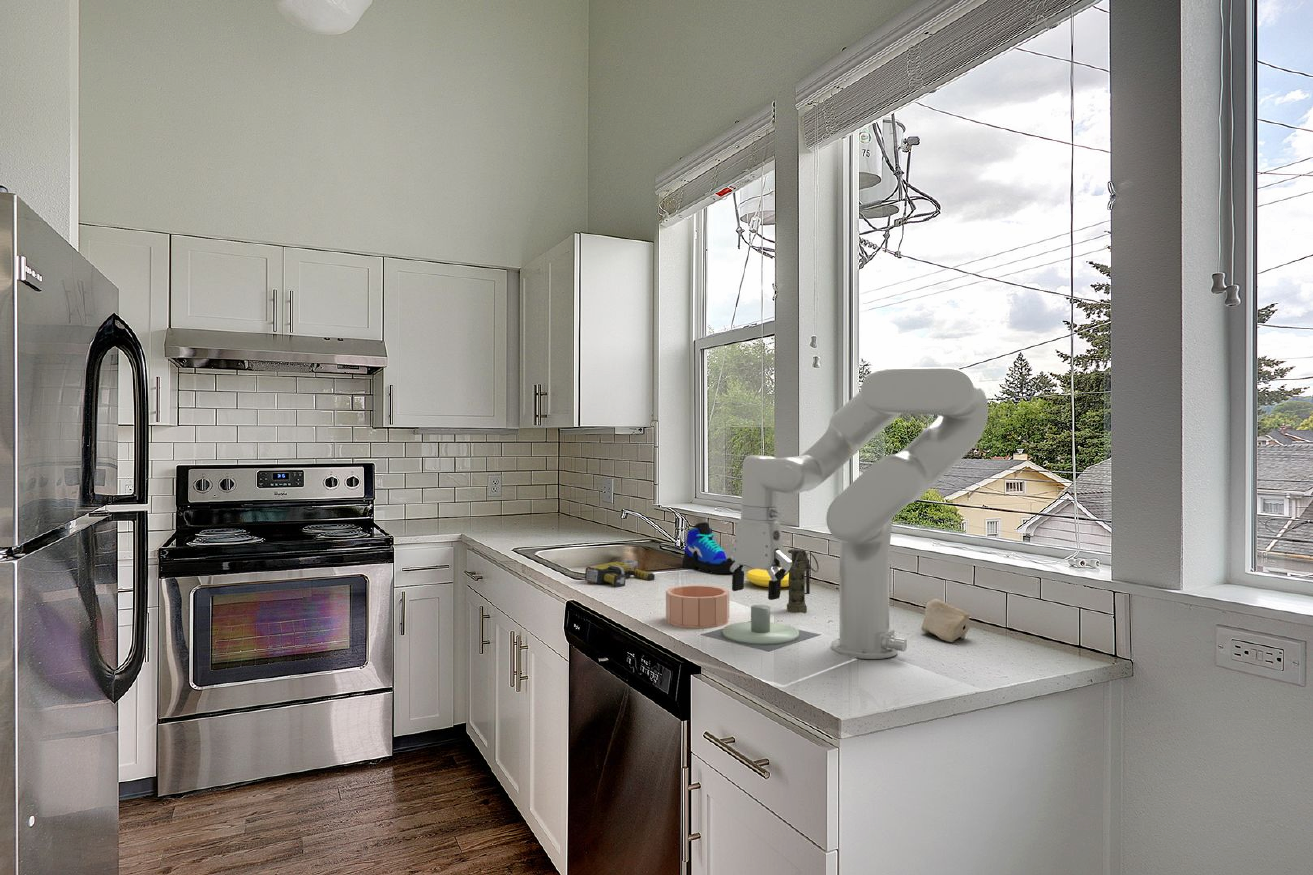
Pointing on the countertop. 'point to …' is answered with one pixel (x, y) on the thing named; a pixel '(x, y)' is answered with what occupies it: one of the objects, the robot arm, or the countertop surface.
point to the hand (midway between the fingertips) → (755, 594)
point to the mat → (802, 636)
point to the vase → (764, 578)
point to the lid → (760, 629)
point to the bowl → (697, 606)
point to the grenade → (799, 580)
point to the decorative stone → (945, 621)
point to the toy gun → (615, 573)
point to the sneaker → (704, 551)
